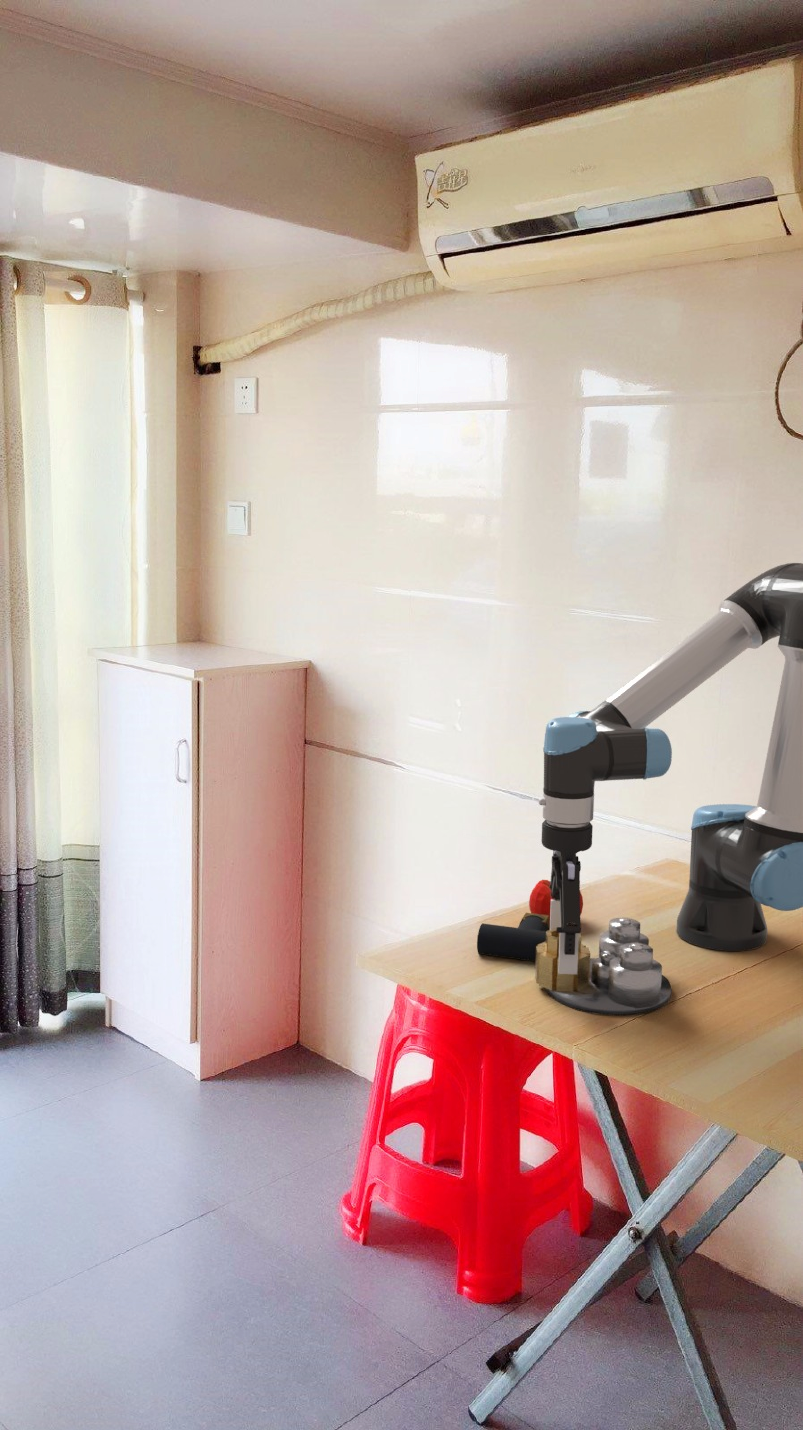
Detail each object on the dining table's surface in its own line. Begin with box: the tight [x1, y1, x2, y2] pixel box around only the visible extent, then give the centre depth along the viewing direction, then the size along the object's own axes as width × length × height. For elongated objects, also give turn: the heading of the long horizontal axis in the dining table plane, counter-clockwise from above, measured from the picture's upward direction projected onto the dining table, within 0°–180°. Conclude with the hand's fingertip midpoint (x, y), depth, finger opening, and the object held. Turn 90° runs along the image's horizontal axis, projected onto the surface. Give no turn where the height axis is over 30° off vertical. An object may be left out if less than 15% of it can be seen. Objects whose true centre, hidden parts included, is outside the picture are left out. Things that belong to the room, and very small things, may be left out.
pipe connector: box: [476, 912, 550, 962], centre depth 194 cm, size 12×5×15 cm
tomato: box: [528, 879, 584, 924], centre depth 207 cm, size 9×9×8 cm
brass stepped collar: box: [534, 928, 591, 992], centre depth 178 cm, size 8×8×8 cm
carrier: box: [545, 917, 672, 1017], centre depth 178 cm, size 19×19×9 cm
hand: (562, 956), depth 178 cm, fingers open, 13 cm apart
